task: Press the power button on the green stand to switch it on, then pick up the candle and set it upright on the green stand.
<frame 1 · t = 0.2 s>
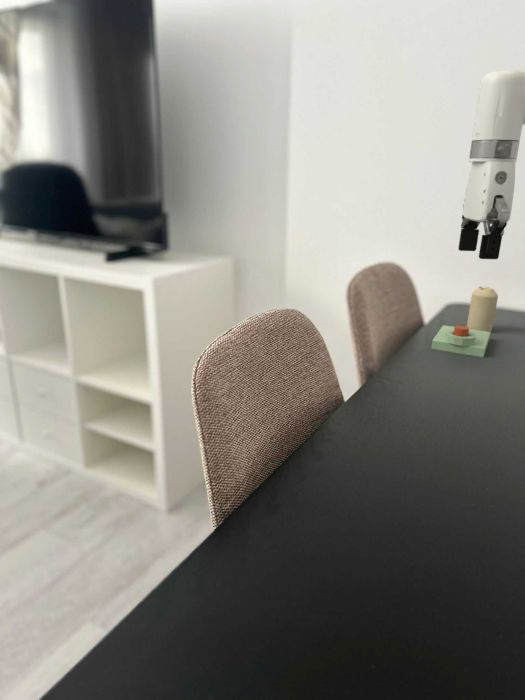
hand: (477, 254, 93), 20 cm above the table, tool pointing down, fingers open, 9 cm apart
power button: (461, 331, 104), point 4 cm above the table, slide at 0.1 cm
candle: (478, 330, 119), on the table
green stand: (461, 344, 109), on the table
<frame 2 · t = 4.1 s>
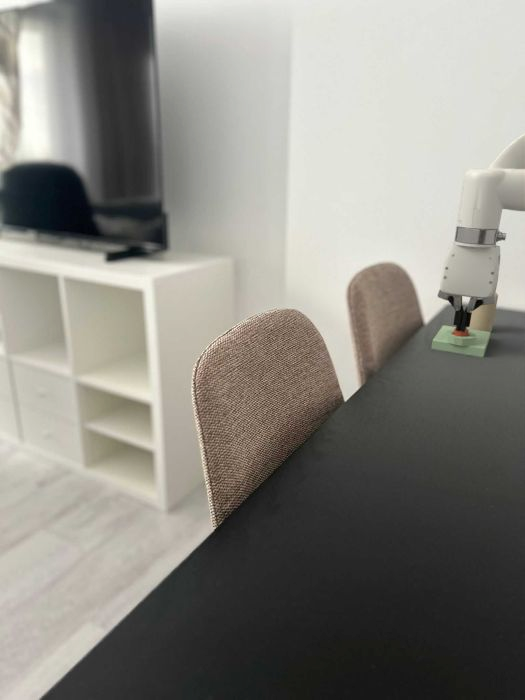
hand: (460, 329, 104), 5 cm above the table, tool pointing down, fingers closed
power button: (460, 333, 104), point 4 cm above the table, slide at -0.3 cm, touching gripper
everything else where it was.
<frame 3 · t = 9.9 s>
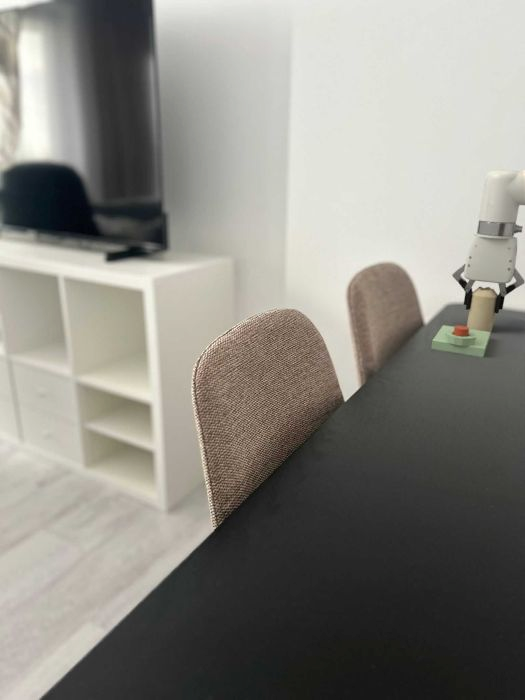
hand: (482, 309, 118), 5 cm above the table, tool pointing down, fingers closed on candle, 5 cm apart
power button: (461, 331, 104), point 4 cm above the table, slide at 0.1 cm
candle: (478, 330, 119), on the table, touching gripper
when the fingers open (7 cm above the table, at t = 16.2 s): candle stays where it is, resting on green stand.
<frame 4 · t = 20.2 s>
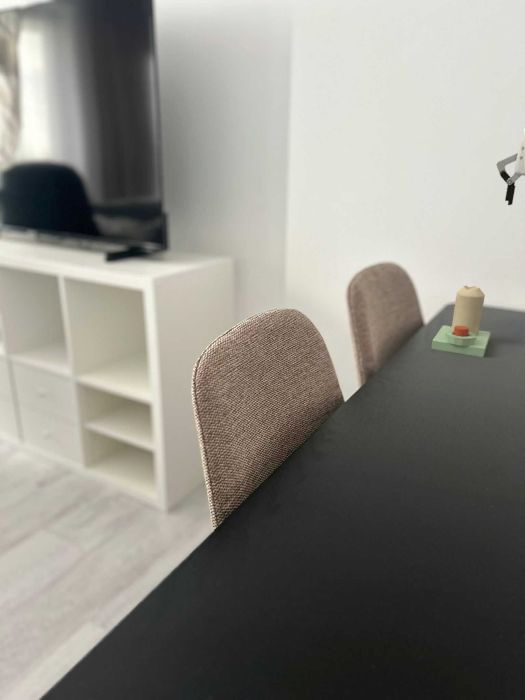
candle: (464, 333, 111), point 2 cm above the table, touching green stand
everything else where it was.
at the end: power button pushed in 0.9 cm at the most during the clip, back to where it started at the end; candle inside the target area on the green stand (1.4 cm from its centre), point 1.7 cm above the green stand's base; candle tilted 0° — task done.
